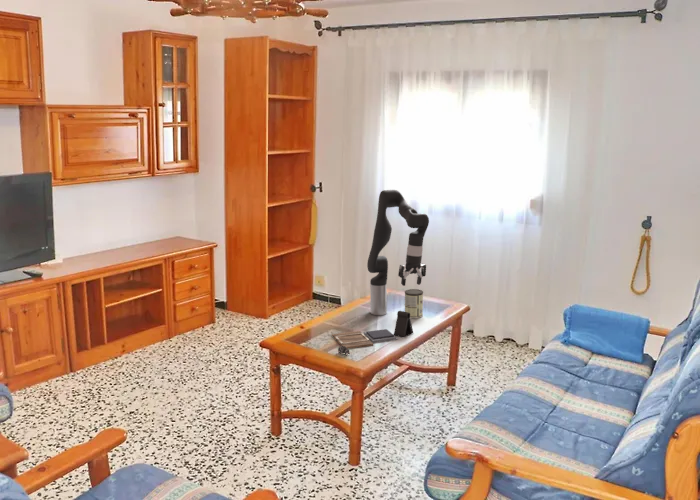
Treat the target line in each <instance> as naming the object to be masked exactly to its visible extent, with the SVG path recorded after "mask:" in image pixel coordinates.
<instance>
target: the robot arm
mask: <svg viewBox="0 0 700 500" xmlns="http://www.w3.org/2000/svg"><path fill="white" fill-rule="evenodd" d="M377 205H378V206H377V207H378V208H377V213H376V214H377V215H376V221H375V226H374V230H373V231H374V232H373V236H372V237H373V239H372V243H371V248H370V251H369V255H368V259H367V265H366V266H367V270H368V272H369V273H371V274H376V275H375V276H373V277H371V279H370V280H369V281H370V283H369V284H370V291H369V292H370V300H369V301H370V303H369V304H370V314H371V315H374V316H384V315H386V314H387V310H388V309H387V306H388V302H387V301H388V297H387V296H388V295H387V294H388V293H387V289H388V288H387V286H388V284H387V282H388V274H389V271H388V269H389V263H388V262H389V261H388V258H387V257H386V256H385V255H379V254H380V253H381V251H383V249H384V248H385V246H387V245H388V243H389V242H390V239H391V235H392V230H393V229H392V225H391V222H390V221H389V219H388V216H387V209H388V208H396V207H397V208H398V214H399V215H400V217H402V218H403V220H405V222H406V225H407V226H408V227H409V228H411V229H416V230H414V231H412V232H410V233H409V235H408V240H407V241H408V244H407V248H406V256H405V265H402V264H399V269H398V274H397V276H398V277H399V278H401V285H402V286H403V287H404V286H406V281H407V277H408V276H410V275H413V274H414V275H415V274H416V276H417V277H416V284H417V285H418V286H419V285H421V284H422V279H423V277H425V276H426V275H427V265H426V264H425V263H422V258H423V246H424V245H423V244H424V237H425V234H426V232H427V229H428V227H429V224H430V219H429V216H428V215H427V214H426V213H418V211H417V210H416V208H414V207H413V206H412V205H410V204H409V203H408V201H407V200H406V198H405V197H404V196H403V194H402V193H401V192H400V191H399V190H398V189H386V190H385V189H384V190H382V191H380V193H379V198H378V204H377ZM421 263H422V264H421Z"/></svg>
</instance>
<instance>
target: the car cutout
mask: <svg viewBox="0 0 700 500" xmlns="http://www.w3.org/2000/svg"><path fill="white" fill-rule="evenodd" d="M339 352H340V353H339ZM338 353H339V354H341V353H345V354H346V355H347V356H349V355H350V354H351V353H350V349H347V347H345V346H341V345H340V346H339V347H338V349H337V354H338ZM345 354H344V355H345ZM348 354H349V355H348ZM346 355H345V356H346Z"/></svg>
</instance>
